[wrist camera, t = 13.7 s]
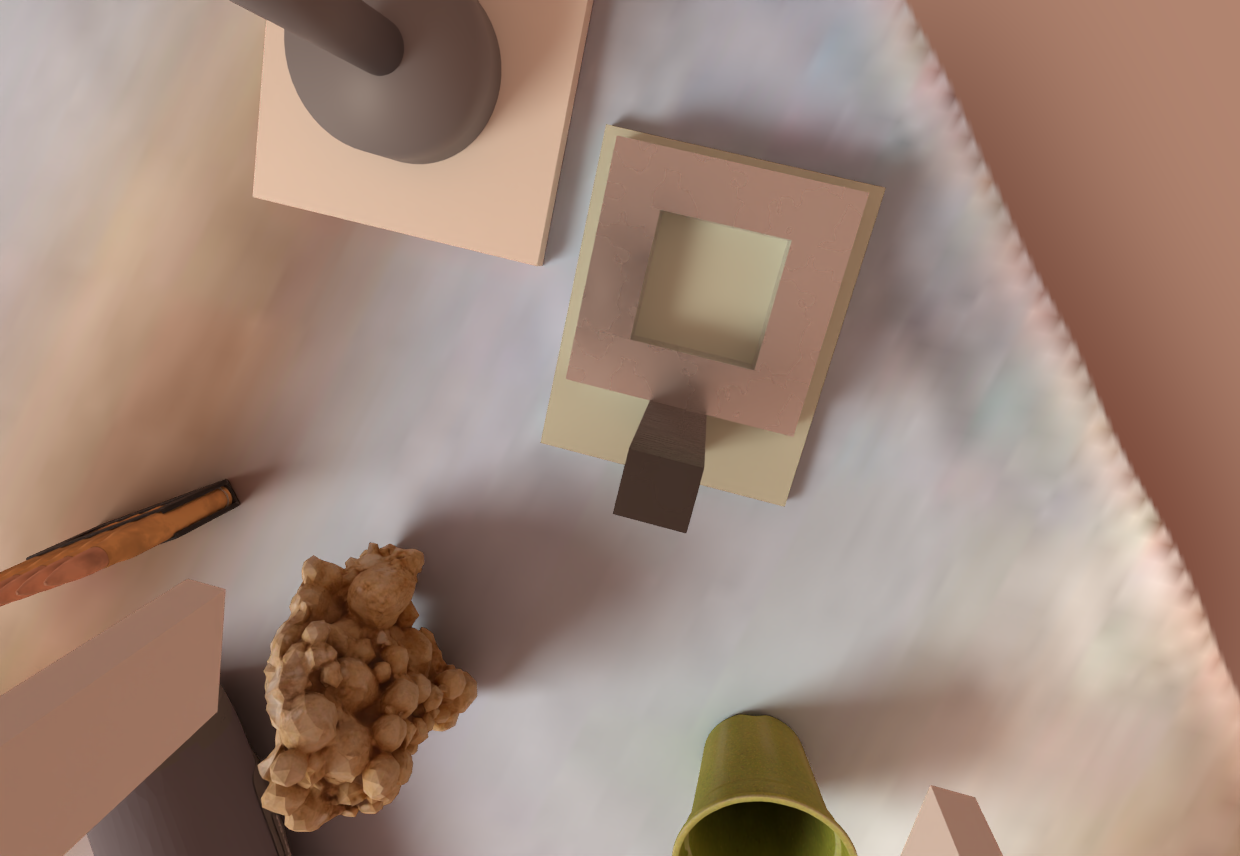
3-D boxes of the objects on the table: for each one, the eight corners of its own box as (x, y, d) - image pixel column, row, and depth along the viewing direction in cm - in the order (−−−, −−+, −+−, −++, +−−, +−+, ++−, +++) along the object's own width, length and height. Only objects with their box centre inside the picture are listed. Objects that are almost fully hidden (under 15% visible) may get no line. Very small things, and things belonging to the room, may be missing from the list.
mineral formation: (399, 715, 46) (254, 929, 31) (314, 536, 43) (114, 678, 29) (508, 688, 44) (408, 901, 30) (426, 500, 41) (273, 632, 27)
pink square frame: (622, 141, 34) (581, 92, 24) (860, 196, 33) (928, 170, 23) (562, 420, 38) (505, 485, 28) (774, 475, 37) (798, 563, 27)
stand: (294, -135, 34) (-19, -423, 19) (607, -70, 33) (522, -325, 18) (266, 198, 38) (-5, 165, 24) (542, 265, 37) (433, 273, 23)
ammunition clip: (228, 478, 43) (50, 560, 31) (241, 504, 43) (70, 596, 32) (96, 526, 45) (-116, 620, 34) (110, 551, 45) (-95, 652, 34)
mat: (608, 127, 35) (606, 124, 34) (881, 189, 34) (885, 187, 33) (544, 439, 39) (540, 442, 39) (783, 501, 38) (784, 506, 38)
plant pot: (865, 754, 42) (902, 880, 33) (758, 841, 44) (769, 978, 36) (749, 659, 41) (758, 762, 33) (648, 752, 44) (633, 870, 35)
